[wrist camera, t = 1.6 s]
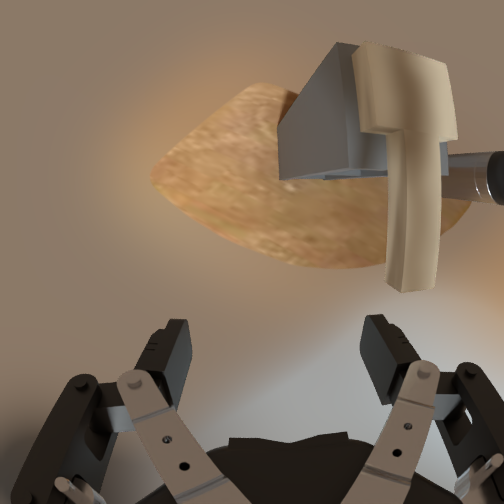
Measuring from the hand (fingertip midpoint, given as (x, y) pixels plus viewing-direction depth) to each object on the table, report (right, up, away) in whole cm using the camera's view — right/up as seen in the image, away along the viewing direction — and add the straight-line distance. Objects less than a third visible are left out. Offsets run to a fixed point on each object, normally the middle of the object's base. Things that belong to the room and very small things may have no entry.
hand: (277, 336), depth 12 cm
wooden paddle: (+10, +10, +5) cm, 15 cm away
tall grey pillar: (+8, +21, +36) cm, 42 cm away
